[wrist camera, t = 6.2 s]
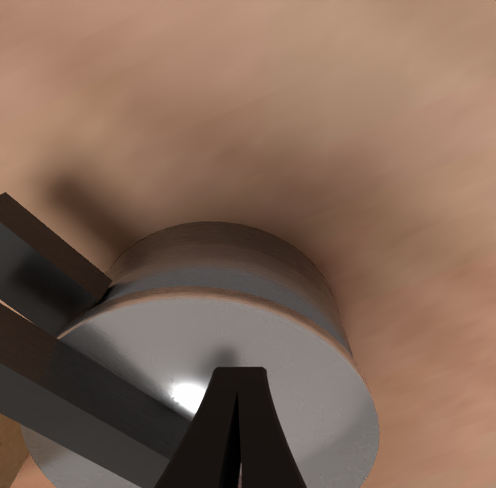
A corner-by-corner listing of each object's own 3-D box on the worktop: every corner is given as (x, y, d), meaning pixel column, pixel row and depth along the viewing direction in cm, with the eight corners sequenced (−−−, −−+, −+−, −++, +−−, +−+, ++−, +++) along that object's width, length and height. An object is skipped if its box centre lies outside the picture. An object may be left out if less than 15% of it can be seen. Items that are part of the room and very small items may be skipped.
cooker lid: (442, 426, 16) (478, 496, 13) (219, 551, 21) (213, 619, 18) (97, 141, 11) (48, 166, 8) (-89, 395, 16) (-156, 460, 13)
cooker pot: (386, 342, 22) (428, 436, 16) (213, 443, 26) (202, 543, 21) (140, 75, 16) (78, 83, 10) (-31, 265, 20) (-138, 340, 15)
